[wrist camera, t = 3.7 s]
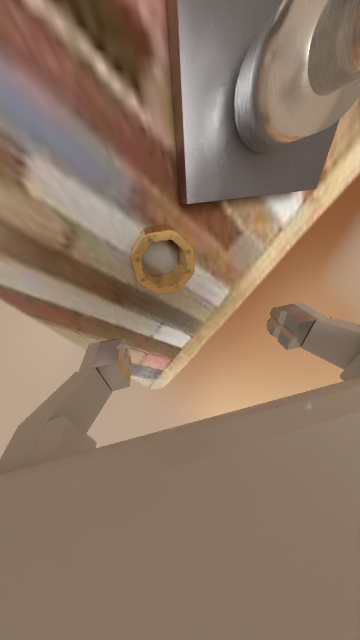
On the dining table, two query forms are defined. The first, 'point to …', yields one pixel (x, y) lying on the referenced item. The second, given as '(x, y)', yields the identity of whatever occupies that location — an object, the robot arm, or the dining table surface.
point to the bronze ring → (178, 274)
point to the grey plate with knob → (259, 92)
